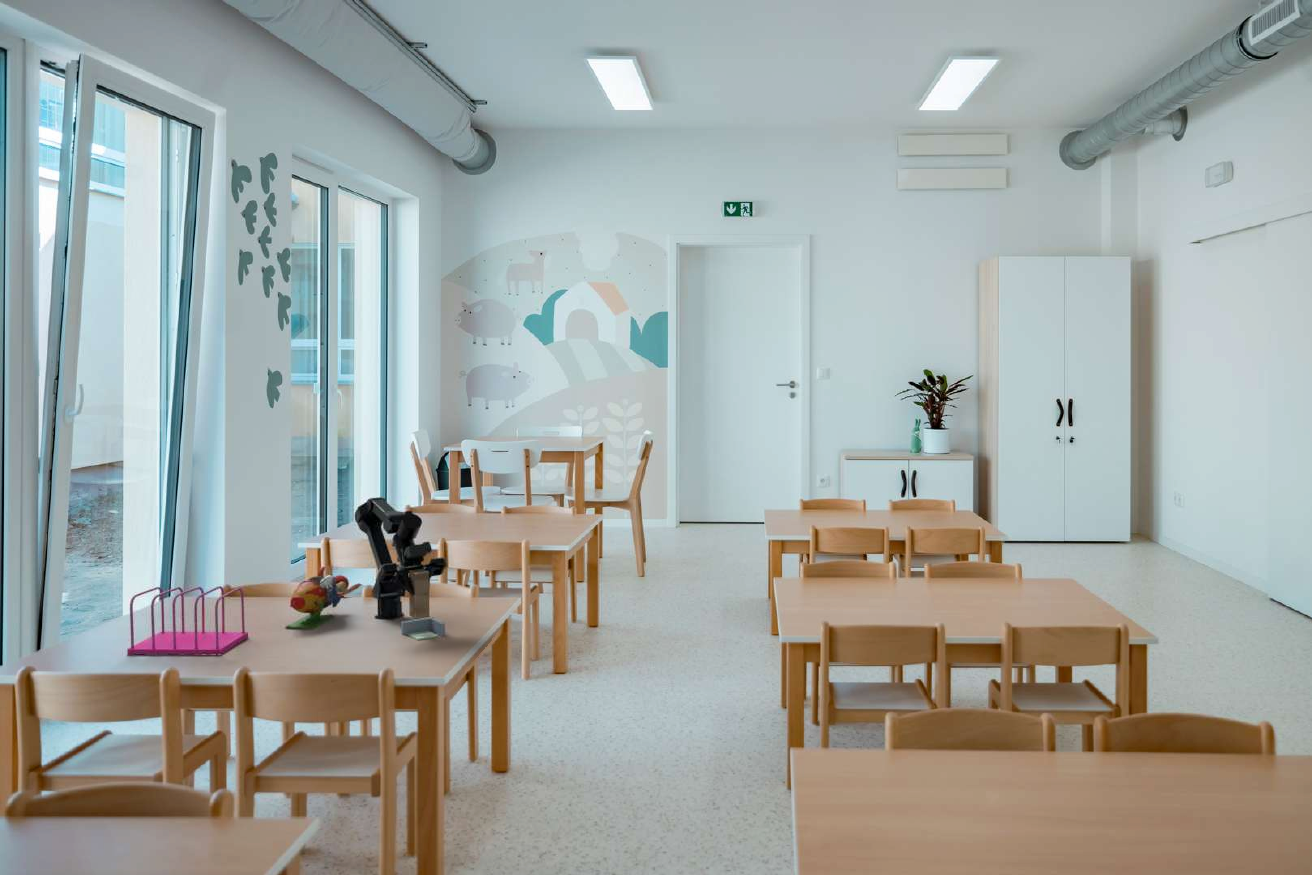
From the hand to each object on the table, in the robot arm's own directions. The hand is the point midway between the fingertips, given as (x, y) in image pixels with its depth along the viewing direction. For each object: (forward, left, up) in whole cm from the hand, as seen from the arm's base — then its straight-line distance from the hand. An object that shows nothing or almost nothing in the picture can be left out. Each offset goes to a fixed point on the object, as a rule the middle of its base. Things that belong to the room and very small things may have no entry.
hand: (420, 593), depth 275 cm
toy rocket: (-39, +3, -12) cm, 41 cm away
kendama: (-56, +33, -12) cm, 66 cm away
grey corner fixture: (0, +1, -12) cm, 12 cm away
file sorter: (-55, -30, -12) cm, 63 cm away
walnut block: (-1, +1, -7) cm, 7 cm away
